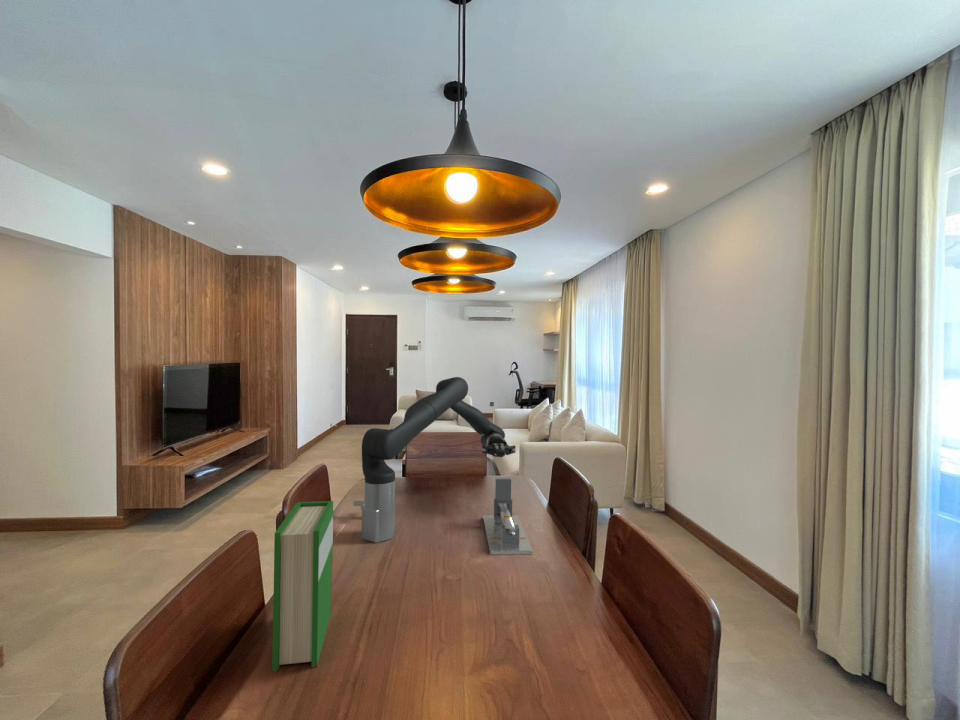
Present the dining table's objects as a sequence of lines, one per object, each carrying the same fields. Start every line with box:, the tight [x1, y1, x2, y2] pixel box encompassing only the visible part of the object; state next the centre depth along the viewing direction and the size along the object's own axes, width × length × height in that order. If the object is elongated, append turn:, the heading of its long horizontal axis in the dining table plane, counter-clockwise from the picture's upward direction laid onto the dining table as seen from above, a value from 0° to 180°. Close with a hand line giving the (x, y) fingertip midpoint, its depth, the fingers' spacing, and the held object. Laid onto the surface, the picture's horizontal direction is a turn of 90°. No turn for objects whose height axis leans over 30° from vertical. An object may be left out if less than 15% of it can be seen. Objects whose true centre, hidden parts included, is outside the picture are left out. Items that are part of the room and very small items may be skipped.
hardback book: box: [271, 500, 334, 672], centre depth 88 cm, size 18×7×24 cm, turn 10°
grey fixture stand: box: [482, 503, 533, 556], centre depth 143 cm, size 30×12×8 cm, turn 3°
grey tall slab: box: [493, 477, 513, 518], centre depth 150 cm, size 2×6×13 cm, turn 93°
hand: (501, 454), depth 157 cm, fingers closed
